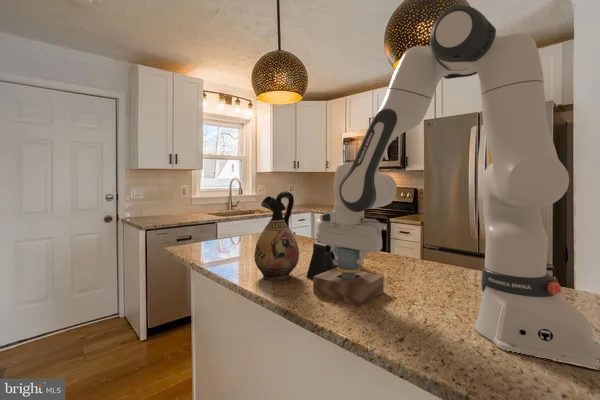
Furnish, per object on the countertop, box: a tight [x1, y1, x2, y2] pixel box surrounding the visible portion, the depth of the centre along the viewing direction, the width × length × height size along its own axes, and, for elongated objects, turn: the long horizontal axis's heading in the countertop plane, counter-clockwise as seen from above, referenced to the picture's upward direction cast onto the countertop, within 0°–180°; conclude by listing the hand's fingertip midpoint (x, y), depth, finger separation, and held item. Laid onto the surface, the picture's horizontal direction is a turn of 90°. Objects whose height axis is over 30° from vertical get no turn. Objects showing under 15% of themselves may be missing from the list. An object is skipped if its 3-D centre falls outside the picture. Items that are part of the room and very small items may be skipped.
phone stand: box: [306, 241, 336, 281], centre depth 110 cm, size 9×6×12 cm, turn 126°
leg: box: [338, 247, 361, 280], centre depth 95 cm, size 6×6×12 cm
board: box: [312, 267, 385, 307], centre depth 95 cm, size 16×14×5 cm
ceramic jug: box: [253, 191, 300, 282], centre depth 110 cm, size 17×15×30 cm
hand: (348, 262), depth 95 cm, fingers closed on leg, 6 cm apart
